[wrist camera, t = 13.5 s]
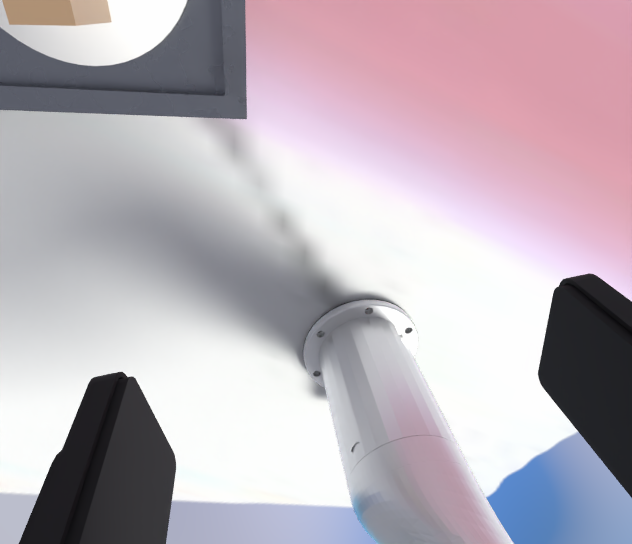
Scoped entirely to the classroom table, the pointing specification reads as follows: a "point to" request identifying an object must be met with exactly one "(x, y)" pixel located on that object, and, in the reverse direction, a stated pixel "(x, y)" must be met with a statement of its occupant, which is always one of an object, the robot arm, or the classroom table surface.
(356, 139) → the classroom table surface
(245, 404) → the classroom table surface
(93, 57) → the dial
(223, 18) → the dial housing
